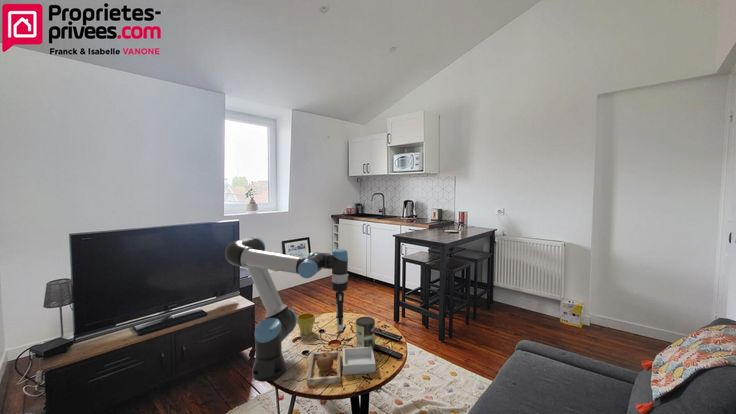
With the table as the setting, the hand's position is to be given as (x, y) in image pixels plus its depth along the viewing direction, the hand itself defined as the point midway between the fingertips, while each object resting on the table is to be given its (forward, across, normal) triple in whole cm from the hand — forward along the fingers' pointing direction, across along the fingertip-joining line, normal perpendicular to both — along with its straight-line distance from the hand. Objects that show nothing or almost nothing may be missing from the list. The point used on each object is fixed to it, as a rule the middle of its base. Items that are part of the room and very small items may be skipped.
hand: (339, 323), depth 145 cm
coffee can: (+19, +13, -15) cm, 28 cm away
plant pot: (+20, +34, +18) cm, 43 cm away
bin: (+19, -4, -9) cm, 22 cm away
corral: (+20, -5, +7) cm, 21 cm away
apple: (+20, -5, +7) cm, 22 cm away
